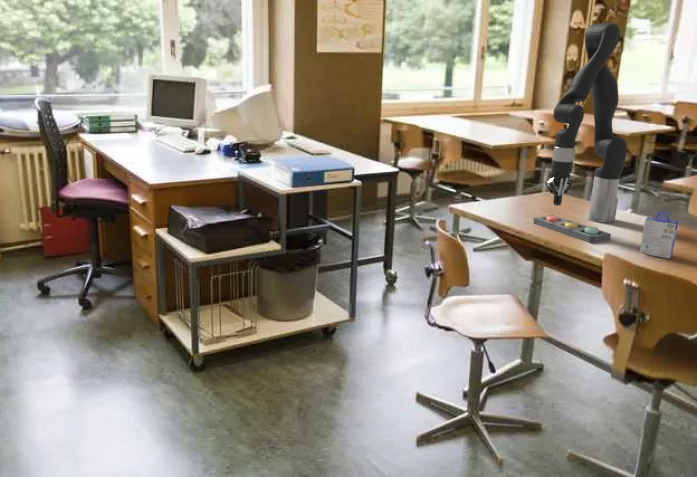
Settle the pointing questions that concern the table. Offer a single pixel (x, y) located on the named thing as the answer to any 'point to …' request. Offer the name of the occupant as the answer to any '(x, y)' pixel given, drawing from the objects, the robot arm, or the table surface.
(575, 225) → the ochre button
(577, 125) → the robot arm
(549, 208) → the table surface
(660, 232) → the ink cartridge box
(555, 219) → the red button
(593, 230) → the teal button
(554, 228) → the button panel
